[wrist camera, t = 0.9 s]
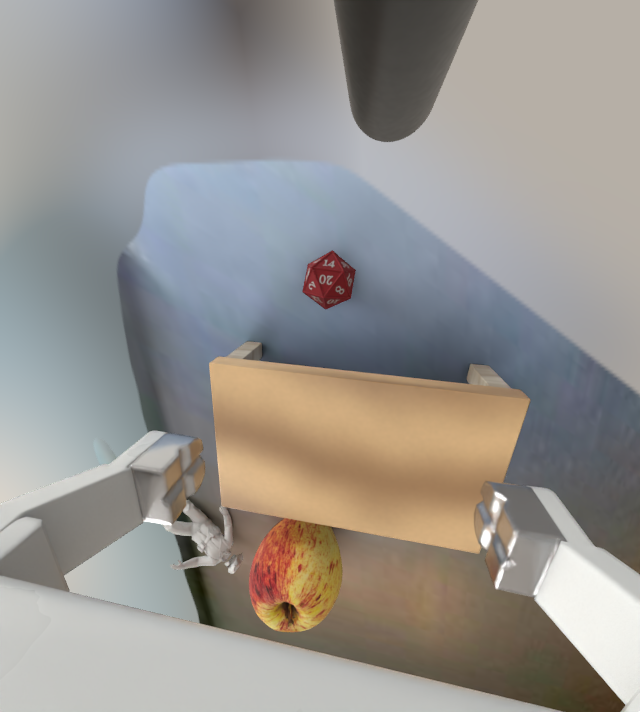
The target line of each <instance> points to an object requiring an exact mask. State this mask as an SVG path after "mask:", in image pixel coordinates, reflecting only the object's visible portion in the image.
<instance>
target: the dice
mask: <svg viewBox="0 0 640 712" xmlns="http://www.w3.org/2000/svg"><path fill="white" fill-rule="evenodd" d="M355 271H356V270H355V269H353V268H352V267H351V266H350V265H349V264H348V263H346V262H345V261H344V260H343V259H342V258H341V257H339V256H338V255H337V254H336V253H335V252H334V251H333V250H332V251H331V252H329V253H327V254H326V255H324V256H322V257H320V258H318V259H317V260H315V261H313V262H311V263H310V264H308V267H307V272H306V277H305V282H304V287H303V291H302V292H303V293H305V294H306V295H307V296H309V297H310V298H311V299H313V300H314V301H315V302H317V303H318V304H319V305H320V306H322V307H323V308H324V309H328V308H330V307H332V306H335V305H337V304H339V303H341V302H344V301H346V300H348V299H351V294H352V288H353V282H354V276H355Z"/></svg>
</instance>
